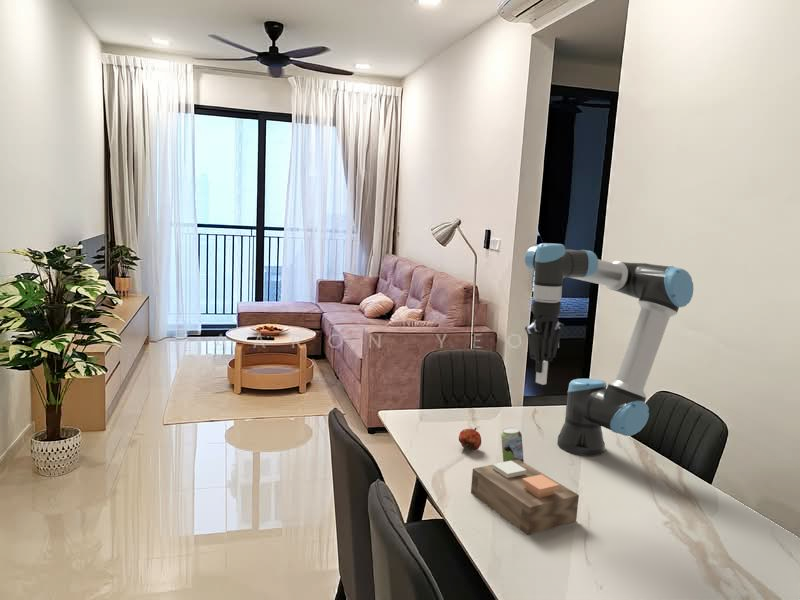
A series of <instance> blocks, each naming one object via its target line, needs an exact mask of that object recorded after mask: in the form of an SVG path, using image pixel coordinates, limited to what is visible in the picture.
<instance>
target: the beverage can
mask: <svg viewBox="0 0 800 600" xmlns="http://www.w3.org/2000/svg"><path fill="white" fill-rule="evenodd" d="M501 447H502V448H501V450H502V462H506V461H513V460H518V459H519V460H521V461H522V462H524V463H525V461H524V448H523V447H524V446H523V436H522V432H521V431H520V429H519V428H516V427H508V428H504V429H502V433H501Z"/></svg>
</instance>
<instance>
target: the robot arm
mask: <svg viewBox="0 0 800 600" xmlns="http://www.w3.org/2000/svg"><path fill="white" fill-rule="evenodd" d="M524 262H525V263H524V264H525V265H526V267H527V268H528V269H530V270H533V271H534V279H533V280H534V281H533V296H532V297H533V301H532V305H531V306H532V308H531V312H532V314H533V318H532V321H531V324H530V325H526V326H525V327H524V330H525V332H526V334H527V342H528V350H529V358H530V359H532V360H535V368H534V371H535V372H536V373H535V383H536V384H539V385H542V386H543V385H547V379H548V371H549V369H550V362H553V359H555V358H556V355H557V351H558V349H559V348H558V347H559V343H560V339H561V336H562V335H561V334H562V332H563V329H564V328H565V324H564V323H561V322H559V316H560V314H561V308H562V307H561V306H562V303H561V300H562V295H563V294H562V292H563V283H564V282H563V281H564V279H566V278H568V279H569V278H570V279H575V280H580V281H582V282H588V283H592V284H598V285H601V286H602V285H603V286H605V287H606V288H607V289H609V290H611V291H615V292H618V293H621V294H624V295H627V296H629V297H632V298H635V299H638V304H639V306H640V312H639V314H638V317H637V320H636V321H635V325H634V327H633V331H632V334H631V336H630V339H629V342H628V344H627V347H626V351H625V352H624V355H623V358H622V361H621V363H620V366H619V369H618V372H617V375H616V377H615V379H614V380H613V381H611V382H609V383H608V384H607V383H606V381H605V380H601V379H596V378H576V379H575V378H574V379H572V380H570V382H569V383H568V390H567V392H566V393H567V394H566V405H565V406H566V407H565V418H564V423H563V424H562V427H561V430H560V432H559V434H558V435H557V446H558V447H559V448H560V449H562V450H563V451H565V452H567V453H570V454H571V453H572V454H575V455H579V456H587V457H588V456H589V457H594V456H595V457H596V456H600V455H602V454H604V453H605V448H606V443H605V441H604V436H603V430H602V427H603V428H605V429H607V430H609V431H612V432H613V433H615V434H619V435H622V436H626V437H630V436H634V435H636V434H637V433H639V432H641V430H643V428H644V427H645V426H646V425H647V422H648V420H649V417H650V412H649V411H650V408H649V406H648V404H647V403H646V400H647V395H646V393H645V388H646V387H645V386H646V385H647V381H648V379H649V376H650V373H651V371H652V368H653V365H654V362H655V359H656V357H657V353H658V351H659V348H660V346H661V342H662V341H663V340H662V339H663V337H664V334H665V332H666V328H667V325H668V323H669V320H670V318H671V317H673V316H675V315H677V314H678V311H679V308H684V307H686V306H687V305H689V304H690V302H691V300H692V299H693V296H694V295H693V294H694V282H693V278H692V276H691V274H690V272H688V271H687V270H686V269H684V268H680V267H675V266H673V265H671V266H668V265H659V264H652V263H647V262H646V263H644V262H624V261H619V260H614V261H612V262H611V261H608V260H607V261H606V260H604V259H603V260H602V259H599V258H598V256H597V254H596V253H595V252H594V251H592V250H586V249H580V250H577V249H568V248H566V247H565V245H564V244H562V243H552V242H550V243H549V242H548V243H547V242H544V243H539V244H538V245H533V246H530V247H529V248H528V249H527V251H526V253H525V257H524Z"/></svg>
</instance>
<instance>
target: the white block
mask: <svg viewBox="0 0 800 600" xmlns="http://www.w3.org/2000/svg"><path fill="white" fill-rule="evenodd" d="M492 465H493V466H492V469H494V470H496V471H497V472H499V473H500V474H502V475H503V476H505V477H506V478H511V477H515V476H520V475H524V474H526V471H527V470H526V469H524V468H523V467H521V466H519V465H518V464H516V463H514V462H513V461H506V462H503V461H502V462H497V463H492Z"/></svg>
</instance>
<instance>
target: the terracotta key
mask: <svg viewBox="0 0 800 600" xmlns="http://www.w3.org/2000/svg"><path fill="white" fill-rule="evenodd" d="M554 481H555V480H554ZM554 481H552V480H550V479H548V478H547V477H545V476H543V475H542V474H541V475H536V476H532V477H527V478H523V479H522V483H523V484H524V485H526V488H525V490H527V491H528V492H530V493H531V494H533V495H534V496H536V497H538V498H542V497H546V496H550V495H554V490H558V489H559V484H560V483H559V484H557V483H555V482H554Z"/></svg>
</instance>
